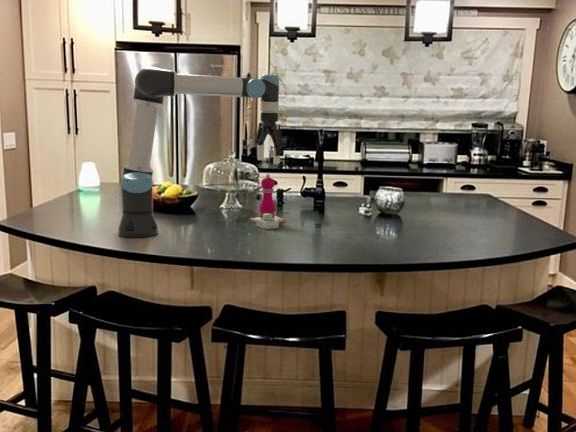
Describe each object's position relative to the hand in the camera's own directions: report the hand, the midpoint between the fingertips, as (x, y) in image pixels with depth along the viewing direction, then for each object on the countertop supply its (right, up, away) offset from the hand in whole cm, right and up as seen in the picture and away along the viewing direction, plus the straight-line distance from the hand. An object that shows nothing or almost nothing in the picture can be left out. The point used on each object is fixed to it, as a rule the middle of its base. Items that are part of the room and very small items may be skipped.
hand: (268, 161), depth 250 cm
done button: (0, -26, -5) cm, 27 cm away
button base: (0, -28, -5) cm, 29 cm away
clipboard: (-1, -26, +6) cm, 26 cm away
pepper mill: (-1, -25, +5) cm, 26 cm away
